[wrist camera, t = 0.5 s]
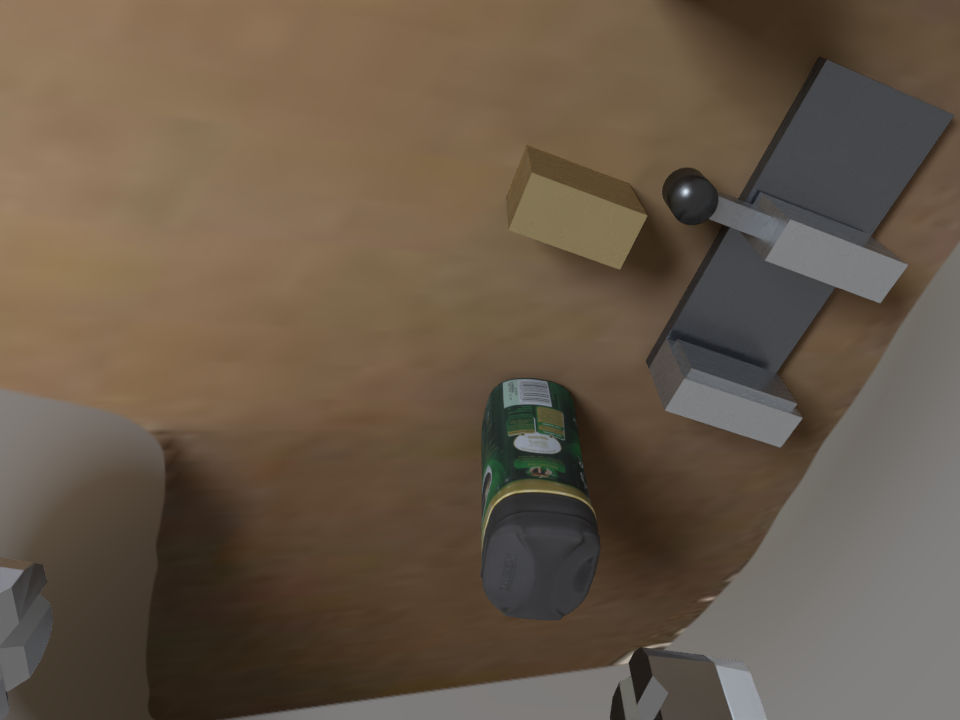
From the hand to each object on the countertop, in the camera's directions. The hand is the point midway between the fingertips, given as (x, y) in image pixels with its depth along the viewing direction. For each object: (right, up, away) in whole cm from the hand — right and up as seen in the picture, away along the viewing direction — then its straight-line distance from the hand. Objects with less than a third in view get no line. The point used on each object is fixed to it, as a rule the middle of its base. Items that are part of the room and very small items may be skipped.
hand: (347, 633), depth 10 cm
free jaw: (+22, +14, +40) cm, 48 cm away
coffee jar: (+6, -1, +52) cm, 52 cm away
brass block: (+8, +16, +41) cm, 45 cm away
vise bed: (+25, +12, +43) cm, 51 cm away
